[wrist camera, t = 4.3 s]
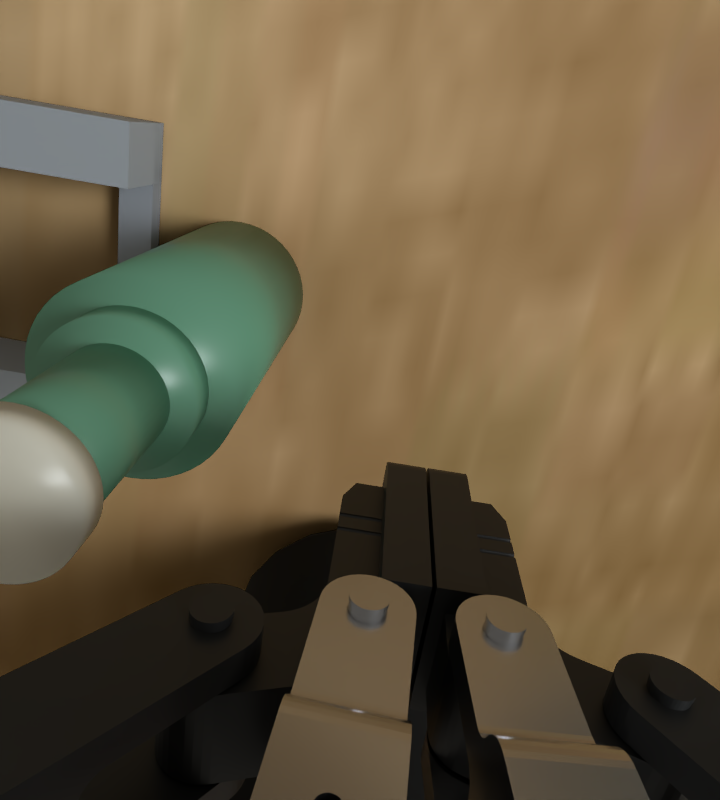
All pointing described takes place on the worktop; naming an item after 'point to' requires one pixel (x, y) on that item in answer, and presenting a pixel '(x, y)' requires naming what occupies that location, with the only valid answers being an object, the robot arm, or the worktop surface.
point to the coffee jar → (297, 587)
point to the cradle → (84, 176)
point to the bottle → (136, 382)
